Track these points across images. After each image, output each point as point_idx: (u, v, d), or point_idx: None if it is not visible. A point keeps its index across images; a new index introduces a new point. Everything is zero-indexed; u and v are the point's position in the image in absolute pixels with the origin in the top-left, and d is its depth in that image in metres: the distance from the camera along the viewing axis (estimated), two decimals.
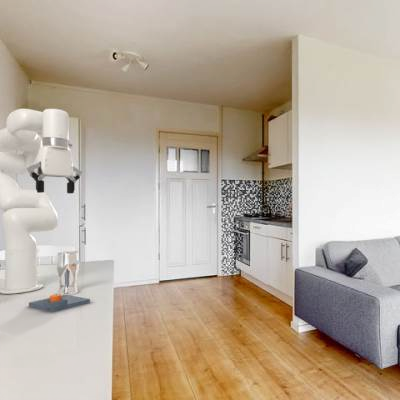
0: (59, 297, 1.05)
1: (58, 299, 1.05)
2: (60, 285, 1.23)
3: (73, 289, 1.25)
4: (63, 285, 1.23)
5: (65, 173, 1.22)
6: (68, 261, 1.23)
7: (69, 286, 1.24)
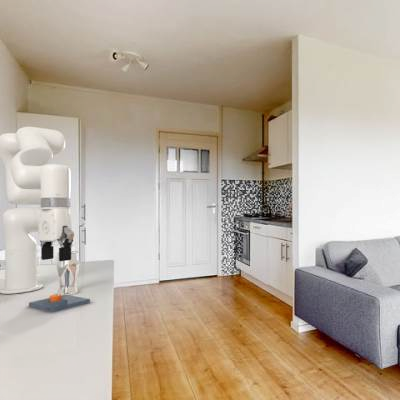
0: (59, 297, 1.05)
1: (58, 299, 1.05)
2: (60, 285, 1.23)
3: (73, 289, 1.25)
4: (63, 285, 1.23)
5: None
6: (68, 261, 1.23)
7: (69, 286, 1.24)
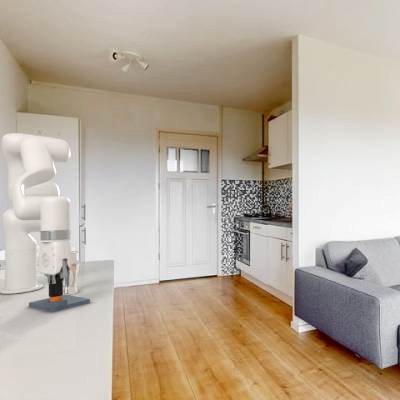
0: (59, 297, 1.05)
1: (58, 299, 1.05)
2: None
3: (73, 289, 1.25)
4: (63, 285, 1.23)
5: None
6: None
7: (69, 286, 1.24)
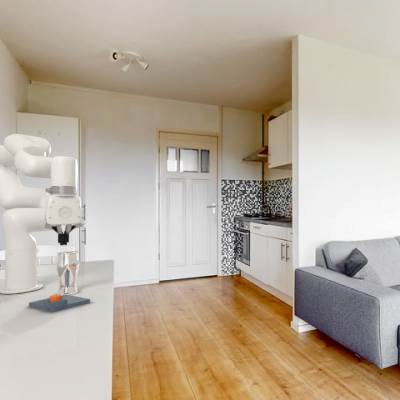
0: (59, 297, 1.05)
1: (58, 299, 1.05)
2: (60, 285, 1.23)
3: (73, 289, 1.25)
4: (63, 285, 1.23)
5: None
6: (68, 261, 1.23)
7: (69, 286, 1.24)
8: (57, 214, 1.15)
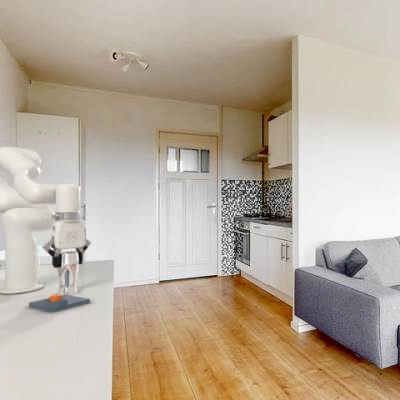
0: (59, 297, 1.05)
1: (58, 299, 1.05)
2: (60, 285, 1.23)
3: (73, 289, 1.25)
4: (63, 285, 1.23)
5: None
6: (68, 261, 1.23)
7: (69, 286, 1.24)
8: (65, 239, 1.23)
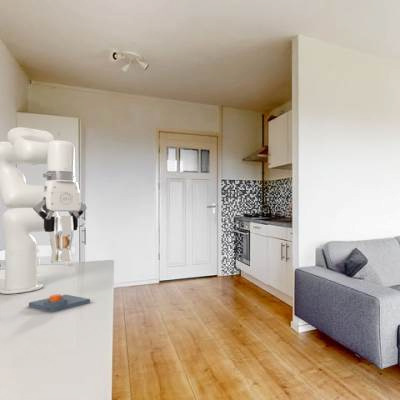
0: (59, 297, 1.05)
1: (58, 299, 1.05)
2: (53, 251, 1.12)
3: (67, 256, 1.13)
4: (56, 252, 1.12)
5: None
6: (61, 225, 1.12)
7: (63, 253, 1.13)
8: (58, 200, 1.11)
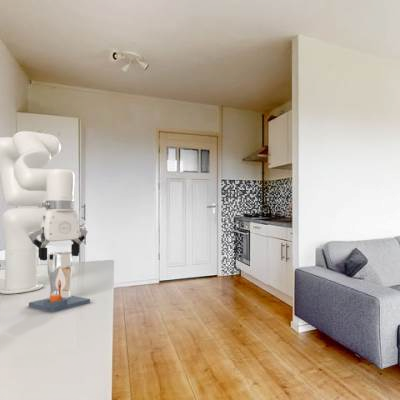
0: (59, 297, 1.05)
1: (58, 299, 1.05)
2: (51, 290, 1.11)
3: (66, 294, 1.12)
4: (54, 290, 1.10)
5: None
6: (60, 263, 1.10)
7: (62, 291, 1.11)
8: (57, 230, 1.10)
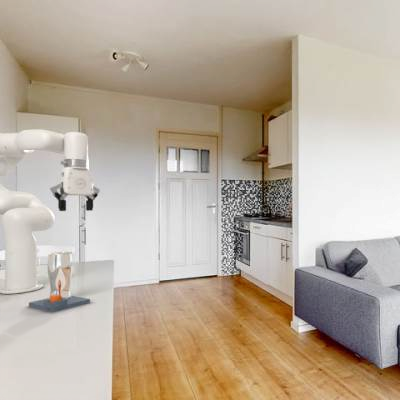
0: (59, 297, 1.05)
1: (58, 299, 1.05)
2: (51, 290, 1.11)
3: (66, 294, 1.12)
4: (54, 290, 1.10)
5: None
6: (60, 263, 1.10)
7: (62, 291, 1.11)
8: (74, 185, 1.26)
